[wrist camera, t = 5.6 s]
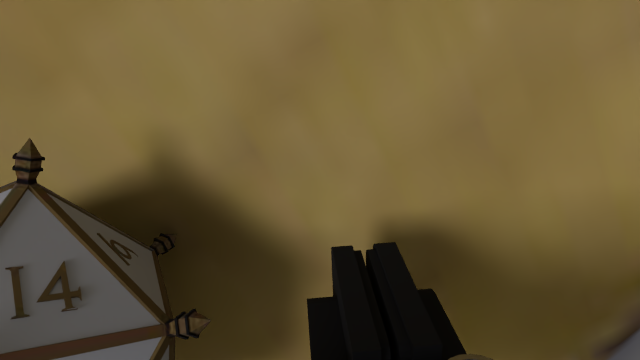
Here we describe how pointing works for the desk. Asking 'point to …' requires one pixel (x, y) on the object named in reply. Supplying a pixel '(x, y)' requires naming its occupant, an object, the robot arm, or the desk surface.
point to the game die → (79, 281)
